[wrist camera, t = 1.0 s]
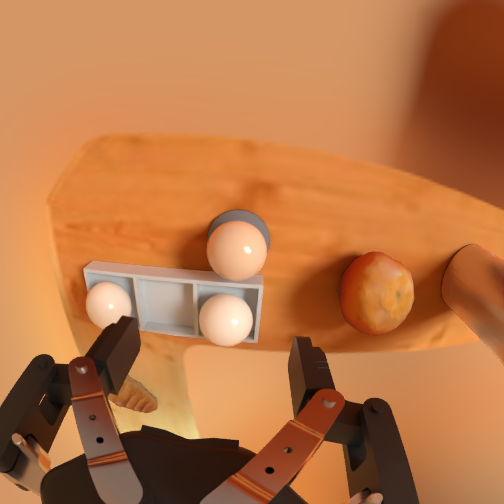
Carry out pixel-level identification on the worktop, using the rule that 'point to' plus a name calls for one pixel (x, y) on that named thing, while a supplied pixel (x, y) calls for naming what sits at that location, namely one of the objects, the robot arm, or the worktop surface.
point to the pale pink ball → (236, 250)
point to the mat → (241, 216)
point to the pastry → (134, 397)
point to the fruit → (376, 293)
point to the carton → (174, 295)
